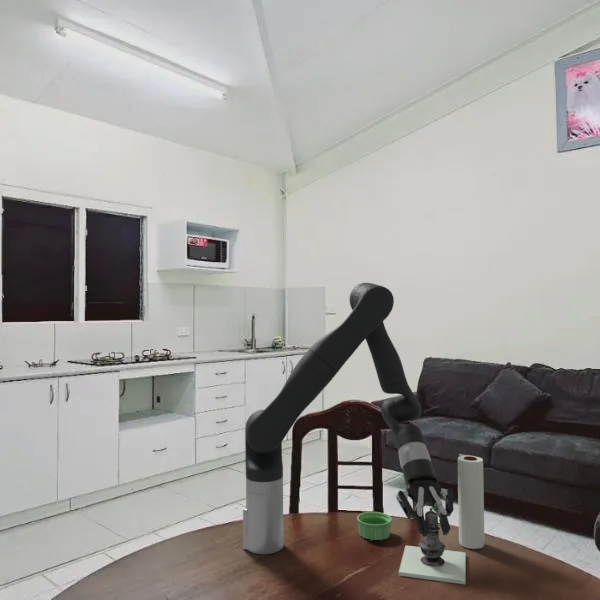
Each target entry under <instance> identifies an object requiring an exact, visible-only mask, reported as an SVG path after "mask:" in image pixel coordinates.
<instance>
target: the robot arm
mask: <svg viewBox="0 0 600 600" xmlns="http://www.w3.org/2000/svg"><path fill="white" fill-rule="evenodd" d="M348 299H349V306H350V308H351V310H352V311H351V312H350V313H349V315H348V316H347V317H346V319H345V320H343V322H341V324H339V325H338V326H337V327H336V328H334V329H333V330H331V331H329V332H328V333H326V334H325V335H324V336H322V337H320V338H319V339H318V340H317V341H315V342H314V343H313V345H311V347H309V349H308V350H307V351H306V352H305V353H304V354H303V356H302V357H301V358H300V360H298V362H297V364H296V365H295V367H294V368H293V369H292V371H291V373H290V375H288V378H287V379H286V381H285V384H283V387H282V388H281V390H280V392H279V393H278V394H277V396H276V397H275V398H274V399H273V400H272V401H271V402H270V403H269V404H268V406H266V407H265V408H264V409H259V410H256V411H254V412H253V413H252V414H251V415H249V417H248V419H247V421H246V422H245V429H244V433H245V437H244V438H245V439H244V440H245V441H244V442H245V443H244V445H245V448H244V449H245V450H244V451H245V507H244V509H243V510H242V549H243V550H247V551H248V552H250V553H253V554H257V555H269V554H275V553H277V552H279V551H281V550H282V549H283V548H284V465H283V453H282V452H283V448H282V447H283V446H282V445H283V444H282V443H283V441H284V439H285V438H286V436H287V434H288V433H289V431H291V428H292V427H293V426H294V424H295V423H296V421H297V420H298V419H299V417H300V416H301V414H302V413H303V412H304V411H305V410H306V409H307V408H308V407H309V406H310V404H311V403H312V402H313V401H314V400H315V399H316V398H317V397H318V396H319V394H320V393H321V392H323V390H324V389H325V388H326V387H327V386H328V385H329V384H330V382H331V381H332V380H333V379H334V378H335V377H336V375H337V373H339V372H340V370H341V369H342V367H344V365H345V363H347V361H348V360H349V359H350V358H351V356H353V354H354V353H355V352H356V350H357V349H358V348H359V346H360V345H361V344H362V343H363V342H365V340H366V345H367V347H368V349H369V353H370V355H371V358H372V362H373V364H374V368H375V373H376V375H377V379H378V381H379V382H378V383H379V386H380V389H381V390H382V392H383V393H385V394H389V395H400V396H397V397H396V396H395V397H393V398H388V399H386V400H384V401H382V403H381V405H380V413H381V416H382V418H383V420H384V421H385V423H386V424H387V426H388V427H389V429H390V431H391V433H392V435H393V438H394V440H395V445H396V447H397V452H398V458H399V459H398V460H399V462H400V464H399V466H400V468H401V471H402V475H403V478H404V479H403V480H404V483H405V486H406V489H405V490H398V493H397V495H396V500H397V502H398V504H399V505H400V507H401V509H402V510H403V512H404V514H405V516H406V518H407V519H410V520H411V519H413V520H414V521H415V522H416V525H417V530H418V533H419V534H420V535H422V537H424V538H425V536H427V534H428V530H427V527H426V523H425V516H423V507H430V508H432V509H433V510H432V511H433V512H435V513H437V515H438V523H439V525H440V528H441V529H440V530H441V532H442V535H443V536H448V534H449V532H450V531H451V525H450V522H449V520H448V519H449V518H448V517H450V516H451V515H452V513H453V512H454V489H453V488H451V487H449V488H447V489H446V488H442V487H441V485H440V484H439V483H438V479H437V475H436V472H435V468H434V466H433V463H432V460H431V456H430V453H429V451H428V448H427V445H426V442H425V439H424V437H423V432H422V430H421V428H420V427H419V426H418V425H416V424H413V423H411V424H410V423H409V422H413V421H416V420H419V419H420V417H421V415H422V406H421V403H420V401H419V399H418V398H417V396H416V395H415V394H414V392H413V391H412V388H411V387H410V385H409V383H408V380H407V378H406V374H405V371H404V367H403V364H402V363H403V362H402V361H401V358H400V356H399V355H400V354H399V353H398V351H397V349H396V347H395V346H394V345H395V344H393V341H392V340H391V338H390V336H389V334H388V332H387V329H386V327H385V323H384V321H385V320H386V319H387V318H388V317H389V316H390V314H391V313H392V310H393V308H394V304H395V300H394V295H393V292H391V290H390V289H389V288H387V287H385V286H383V285H379V284H377V283H373V282H372V283H371V282H361V283H358V284H357V285H355V286H354V287H353V288H352V290H351V292H350V294H349V298H348ZM406 423H407V424H406ZM440 495H441V496H442V498H443V499H444V505H445V507H444V505H443V502H442V500H441V498H440ZM409 498H410V500H412V501H413V502H414V508H413V507H412V505H411V503H410V501H409Z"/></svg>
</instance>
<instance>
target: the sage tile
mask: <svg viewBox="0 0 600 600" xmlns="http://www.w3.org/2000/svg"><path fill="white" fill-rule="evenodd" d="M424 556H425V555H424V554H423V553H422V551H421V547H420V546H414V545H413V546H412V545H405V547H404V550H403V554H402V558H401V561H400V566H399V569H398V576H401V577H407V578H414V579H422V580H430V581H437V582H445V583H452V584H459V585H466V552H464V551H456V550H448V549H447V550H446V549H444V552H443V555H442V556H441V558H442V559H444V561H445V562H444V564H443V565H440V566H430V565H426V564H424V563H422V562H421V558H422V557H424Z"/></svg>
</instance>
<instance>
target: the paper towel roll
mask: <svg viewBox="0 0 600 600" xmlns="http://www.w3.org/2000/svg"><path fill="white" fill-rule="evenodd" d="M458 455H459V456H458V457H457V485H458V486H457V493H458V494H457V495H458V498H457V500H458V502H457V504H458V505H457V507H458V509H457V510H458V543H459V545H460V546H462V547H464V548H466V549H469V550H470V549H471V550H478V549H479V550H480V549H482V548H484V547H485V501H484V500H485V498H484V493H485V492H484V490H485V489H484V487H485V486H484V460H483V458H482V457H479V456H475V455H469V454H468V455H467V454H462V453H459V454H458Z"/></svg>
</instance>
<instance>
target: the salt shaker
mask: <svg viewBox="0 0 600 600" xmlns="http://www.w3.org/2000/svg"><path fill="white" fill-rule="evenodd" d="M424 519H425V523H426V527H427V530H428V534H427V536H425V537H424V540H422V541H420V542H419V544H418V545H419V546H418V547H421V551H422V553H423V554H424V555H425V556H424V557H422V558H421V562H422V563H424V564H426V565H430V566H440V565H443V564H444V562H445V561H444V559H442V558H441V556H442V555H443V552H444V550H445V548H446V545H445V543H444V542H443V541H440V537H439V535H440V534H439V531H440V530H441V529H440V528H441V527H439V517H438V515H437V513H436V512H435V511H434V510H433V508H432V507H430V508H429V510H428V511H426V512H425V514H424Z"/></svg>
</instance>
